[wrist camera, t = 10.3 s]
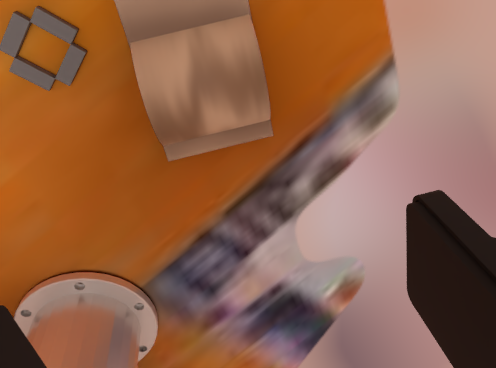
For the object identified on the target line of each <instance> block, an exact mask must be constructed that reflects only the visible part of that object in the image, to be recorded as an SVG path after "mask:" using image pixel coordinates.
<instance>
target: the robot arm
mask: <svg viewBox="0 0 496 368" xmlns="http://www.w3.org/2000/svg"><path fill="white" fill-rule="evenodd" d="M406 222H407V223H406V224H407V226H406V227H407V228H406V229H407V291H408V295H409V298H410V300H411V302H412V304H413V306H414V307H415V309H416V310H417V312H418V313H419V315H420V316H421V318H422V319H423V321H424V323H425V324H426V326H427V327H428V329H429V330H430V332H431V333H432V335H433V336H434V338H435V340H436V341H437V343H438V344H439V346H440V347H441V349H442V350H443V352H444V353H445V355H446V356H447V358H448V360H449V361H450V363H451V364H452V366H453V367H454V368H496V238H493V237H491V236H490V235H488V234H487V233H486V232H485V231H484V230H483V229H482V228H481V227H480V226H479V225H478V224H477V223H475V221H473V220H472V218H470V217H469V216H468V215H467V214H466V213H465V212H464V211H463V210H462V209H461V208H460V207H459V206H458V205H457V204H456V203H455V202H454V201H452V200H451V199H450V198H449V197H448V196H447V195H446V194H445V193H444V192H443V191H440V190H437V191H433V192H429V193H425V194H421V195H417V196H415V197H414V198H413V203H411V204H408V205H407V208H406ZM157 331H158V315H157V312H156V309H155V306H154V305H153V303H152V302H151V300H150V299H149V297H148V296H147V295H146V294H145V293H144V292H143V291H142V290H140V289H139V288H137V287H136V286H134V285H133V284H131V283H129V282H127V281H125V280H123V279H121V278H118V277H114V276H111V275H107V274H101V273H93V272H76V273H70V274H63V275H60V276H56V277H53V278H50V279H48V280H46V281H44V282H42V283H40V284H38V285H37V286H35V287H34V288H33V289H31V290H30V291H29V292H28V293H27V294H26V295H25V296H24V298H23V299H22V300H21V302H20V304H19V306H18V308H17V310H16V313H15V316H14V318H13V317H12V315H11V314H10V312H9V311H8V309H7V308H6V307H5V306H3V305H1V306H0V368H137V366H138V361H140V360H141V359H142V358H143V357H144V356H145V355H146V354H147V353H148V352H149V351H150V350H151V348H152V346H153V345H154V343H155V340H156V337H157Z"/></svg>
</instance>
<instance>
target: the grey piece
mask: <svg viewBox="0 0 496 368" xmlns="http://www.w3.org/2000/svg"><path fill="white" fill-rule="evenodd" d="M31 23H33V24H35V25H37V26H38V27H40V28H42V29H44V30H46V31H47V32H49V33H51V34H53V35H55V36H57V37H58V38H60V39H62V40H64V41H66V42H67V43H69V44H71V45H70V47H69V49H68V51H67V53H66V56H65V58H64V60H63V62H62V64H61V66H60V68H59V71H58V73H57V75H54V74H52V73H50V72H48V71H46V70H45V69H43V68H41V67H39V66H37V65H35V64H33V63H31V62H29V61H27V60H25V59H23V58H21V57H19V56H18V53H19V51H20V49H21V46H22V44H23V42H24V39H25V37H26V34H27V32H28V30H29V27H30V25H31ZM78 30H79V29H78V28H76V27H75V26H73V25H71V24H69V23H68V22H66V21H64V20H63V19H61V18H59V17H57V16H56V15H54V14H52V13H50V12H49V11H47V10H45V9H43V8H42V7H40V6H37V7H36V8H35V10H34V13H33V15H32V18H31V19H30V18H28V17H26V16H24V15H23V14H21V13H19V12H17V11H15V12H13V14H12V17H11V19H10V22H9V24H8V27H7V29H6V32H5V34H4V37H3V39H2V42H1V44H0V50H1V51H3V52H5V53H6V54H8V55H10V56H12V57H14V61H13V63H12V65H11V68H10V70H9V71H10V72H12V73H14V74H16V75H18V76H20V77H22V78H24V79H26V80H28V81H30V82H32V83H34V84H36V85H38V86H40V87H42V88H44V89H46V90H48V91H49V90H50V89H51V88H52V86H53V83H54V81H55V79H57V80H59V81H61V82H63V83H65V84H66V85H68V86H70V85H71V83H72V81H73V79H74V77H75V75H76V73H77V71H78V69H79V67H80V65H81V63H82V61H83V58H84V56H85V54H86V52H87V50H85V49H84V48H82V47H80V46H78V45H76V44H75V43H73V40H74V38H75V36H76V34H77V32H78Z"/></svg>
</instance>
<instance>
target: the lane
mask: <svg viewBox="0 0 496 368" xmlns="http://www.w3.org/2000/svg"><path fill="white" fill-rule="evenodd" d="M114 1H115V4H116V7H117V10H118V13H119V16H120V19H121V22H122V25H123V28H124V31H125V34H126V37H127V40H128V43H129V46H130V49H131V54H132V59H133V64H134V69H135V73H136V77H137V81H138V85H139V89H140V92H141V96H142V99H143V102H144V105H145V108H146V111H147V114H148V117H149V119H150V122H151V125H152V127H153V129H154V132H155V134H156V136H157V138H158V140H159V141H160V143H161V144H162V145H163V147H164V150H165V153H166V156H167V159H168V161H172V160H177V159H181V158H185V157H189V156H193V155H197V154H201V153H205V152H209V151H213V150H217V149H221V148H225V147H229V146H233V145H237V144H242V143H246V142H250V141H254V140H258V139H262V138H266V137H270V136H273V130H272V125H271V120H270V102H269V94H268V88H267V82H266V77H265V72H264V67H263V62H262V58H261V53H260V49H259V45H258V41H257V38H256V34H255V30H254V27H253V23H252V18H251V13H250V7H249V2H248V0H114Z"/></svg>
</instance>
